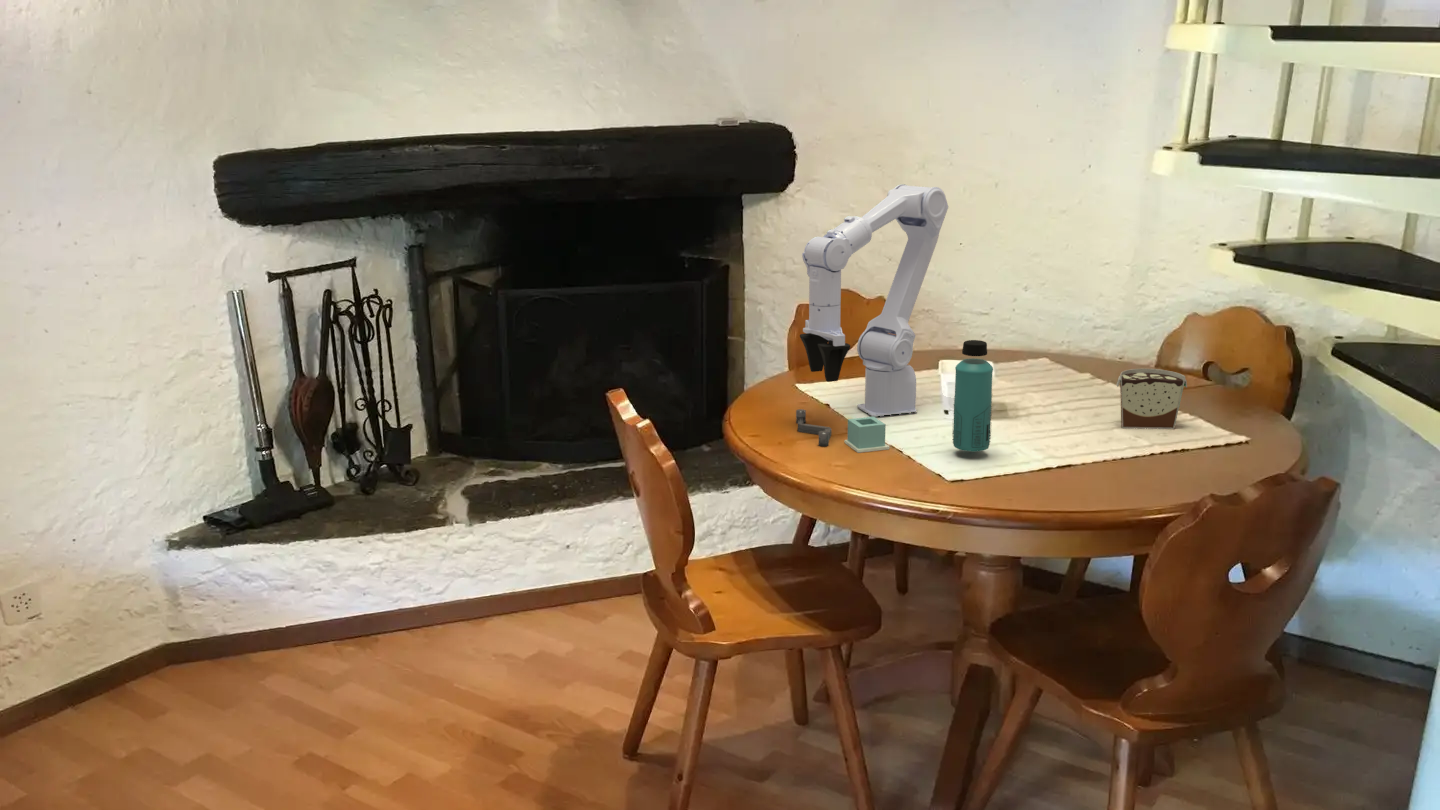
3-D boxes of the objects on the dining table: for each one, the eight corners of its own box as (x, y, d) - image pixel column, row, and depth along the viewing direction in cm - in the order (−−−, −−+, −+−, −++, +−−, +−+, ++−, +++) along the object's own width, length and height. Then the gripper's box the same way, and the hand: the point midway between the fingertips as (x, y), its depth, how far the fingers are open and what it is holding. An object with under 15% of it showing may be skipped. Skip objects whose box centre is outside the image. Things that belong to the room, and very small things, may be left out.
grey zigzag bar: (811, 420, 213) (811, 408, 212) (843, 444, 198) (843, 431, 198) (787, 422, 212) (787, 410, 211) (817, 447, 197) (817, 434, 196)
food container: (1173, 419, 210) (1178, 368, 207) (1182, 429, 204) (1188, 376, 201) (1105, 418, 211) (1110, 367, 208) (1113, 428, 205) (1118, 375, 203)
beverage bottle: (990, 461, 189) (996, 346, 183) (950, 459, 190) (955, 345, 184) (989, 449, 195) (995, 337, 189) (950, 447, 196) (955, 336, 191)
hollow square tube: (873, 437, 200) (873, 416, 199) (884, 446, 196) (885, 424, 195) (847, 440, 199) (847, 419, 198) (858, 448, 194) (859, 427, 193)
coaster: (875, 439, 201) (875, 436, 201) (889, 449, 196) (889, 446, 195) (844, 442, 199) (844, 440, 199) (857, 452, 194) (857, 450, 194)
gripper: (790, 298, 208) (790, 368, 211) (819, 312, 194) (818, 387, 198) (825, 295, 210) (824, 365, 213) (856, 309, 196) (855, 384, 200)
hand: (824, 376), depth 206 cm, fingers open, 7 cm apart
